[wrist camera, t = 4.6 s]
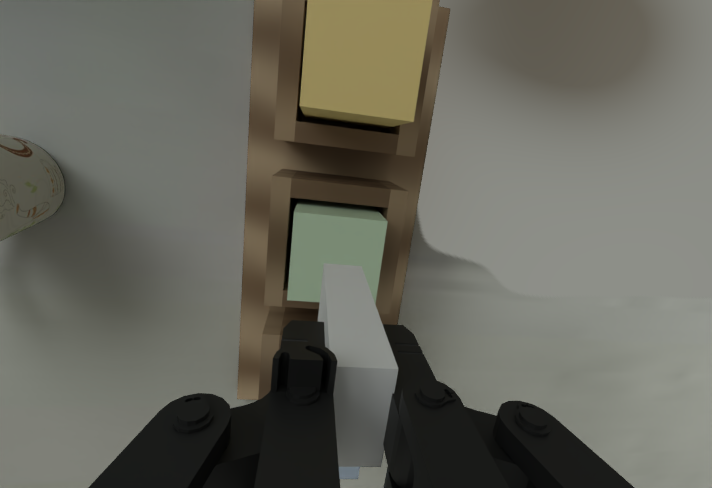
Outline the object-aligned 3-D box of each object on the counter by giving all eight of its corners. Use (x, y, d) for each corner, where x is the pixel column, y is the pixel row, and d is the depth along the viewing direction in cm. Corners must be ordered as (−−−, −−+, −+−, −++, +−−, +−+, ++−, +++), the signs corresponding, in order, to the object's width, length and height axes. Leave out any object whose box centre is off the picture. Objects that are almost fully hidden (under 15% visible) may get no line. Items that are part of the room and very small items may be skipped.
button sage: (300, 193, 25) (293, 212, 19) (369, 201, 26) (387, 221, 19) (294, 260, 27) (287, 300, 20) (361, 266, 27) (375, 306, 20)
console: (257, -22, 23) (233, -89, 17) (446, 12, 25) (493, -35, 18) (239, 392, 32) (217, 460, 25) (382, 397, 33) (398, 462, 27)
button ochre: (312, 26, 21) (310, -31, 14) (397, 40, 21) (433, -8, 14) (305, 117, 22) (299, 105, 15) (385, 128, 22) (413, 122, 16)
